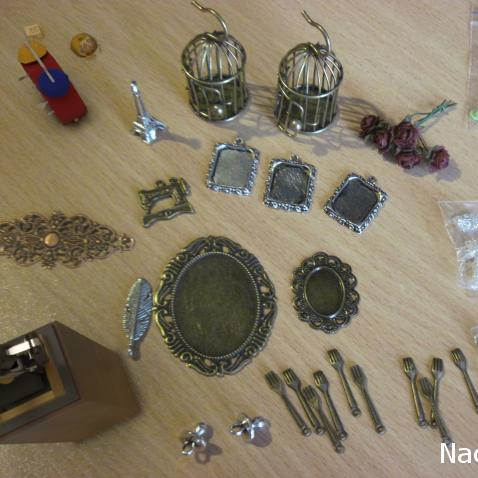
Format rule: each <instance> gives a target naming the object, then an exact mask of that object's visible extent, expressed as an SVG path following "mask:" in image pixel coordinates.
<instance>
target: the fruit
mask: <svg viewBox="0 0 478 478" xmlns="http://www.w3.org/2000/svg"><path fill="white" fill-rule="evenodd" d="M70 49H71V52H73V53H74V55H77V57H80V58H83V59H84V58H85V59H86V60H85V61H84V66H85V67H87V66H89V67H91V66H92V67H93V64H89V63H91V62H92V61H95V60H96V59H99V58H100V56H98V55H97V54H96V53H95V52H96V51H97V49H98V52H97V53H98V54H102V53H103V51H102V48H101V44H99V43H98V42H97V40H96V38H95V37H93V36H92V35H91V34H89V33H85V32H82V33H78V34H76V35H74V36H73V37H72V38H71V40H70ZM88 64H89V65H88Z"/></svg>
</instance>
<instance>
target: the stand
mask: <svg viewBox="0 0 478 478" xmlns="http://www.w3.org/2000/svg"><path fill="white" fill-rule="evenodd" d="M31 332H36V333H37V334H38V336H39V337H40V338H41V340H42V341H43V343H44V345H45V350H46V352H47V355H48V357H49V359H50V361H49V362H48V363H47V364H44V365H45V369H43V373H42V374H40V375H41V378H42V381H43V384H44V386H45V388H44V389H42V390H39V391H37V392H35V393H33V394H31V395H29V396H27V397H24V398H22V399H20V400H18V401H16V402H14V403H11V404H9V405H7V406H5V407H3V408H2V407H0V446H1V445H28V444H29V445H31V444H61V443H80V442H82V441H84V440H85V439H87V438H89V437H91V436H93V435H96V434H98V433H100V432H102V431H103V430H106V429H108V428H109V427H112V426H114V425H116V424H118V423H120V422H122V421H123V420H125V419H127V418H130V417H132V416H134V415H136V414H138V413H140V412H141V409H140V406H139V404H138V401H137V399H136V396H135V393H134V391H133V388H132V386H131V384H130V381H129V379H128V376H127V374H126V371H125V368H124V366H123V364H122V362H121V358H120V356H119V354H118V353H117V352H115V351H114V350H112V349H109V347H106V346H104V345H102V344H101V343H99V342H97V341H95V340H94V339H92V338H89V337H88V336H86V335H84V334H82V333H80V332H79V331H76V330H75V329H73V328H71V327H70V326H68V325H66V324H64V323H62V322H60V321H58V320H56V319H55V320H53V321H50V322H49V323H46V324H44V325H42V326H39V327H37V328H35V329H33V330H30V331H28V332H26V333H24V334H21V335H19V336H16V337H14V338H13V339H10V340H8V341H5V342H3V343H2V344H11V345H12V346H16V345H19V344H21V343H23V340H24V339H26V338H25V335H27V334H28V333H31Z"/></svg>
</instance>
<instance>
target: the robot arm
mask: <svg viewBox="0 0 478 478" xmlns="http://www.w3.org/2000/svg"><path fill="white" fill-rule="evenodd" d="M27 333H28V332H27ZM25 338H26V339H24V340H23V343H21V344H19V345H16V346H12V345H11V344H3V343H0V379H6V378H15V377H17V376H19V375H20V374H22V373H25V372H27V373H29V374H34V375H40V374H42V373H43V369H45V365H44V364H47V363H48V362H49V361H50V359H49V357H48V355H47V352H46V350H45V345H44V343H43V341H42V340H41V338H40V337H39V336H38V334H37V333H36V332H31V333H28V334H27V335H25ZM21 359H22V360H21ZM22 362H23V363H22Z"/></svg>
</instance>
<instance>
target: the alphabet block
mask: <svg viewBox="0 0 478 478" xmlns="http://www.w3.org/2000/svg"><path fill="white" fill-rule="evenodd" d="M23 30H24V32H25V35H26V37H27V39H28V42H32V41H34V42H39V41H42V40H45V37H44V36H43V33H42V31H41V28H40V26H39V24H38V23H34V24H31V25H27V26H23Z"/></svg>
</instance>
